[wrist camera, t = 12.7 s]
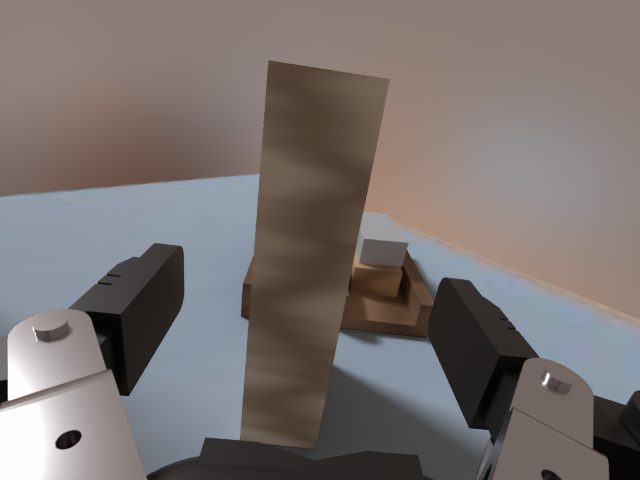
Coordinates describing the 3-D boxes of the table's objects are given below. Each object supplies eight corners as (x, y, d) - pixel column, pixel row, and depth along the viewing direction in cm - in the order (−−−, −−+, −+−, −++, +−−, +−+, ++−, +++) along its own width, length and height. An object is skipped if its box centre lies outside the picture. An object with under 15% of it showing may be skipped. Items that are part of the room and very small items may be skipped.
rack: (240, 316, 28) (243, 283, 27) (267, 236, 43) (269, 212, 42) (426, 337, 29) (436, 306, 28) (390, 251, 44) (396, 229, 43)
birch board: (239, 440, 19) (268, 60, 12) (261, 349, 25) (288, 68, 18) (315, 449, 19) (389, 79, 12) (318, 356, 25) (367, 80, 18)
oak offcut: (350, 291, 32) (355, 266, 31) (344, 252, 39) (348, 231, 38) (396, 297, 32) (402, 272, 31) (381, 257, 40) (386, 236, 39)
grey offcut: (358, 263, 32) (364, 238, 31) (346, 231, 38) (350, 210, 37) (402, 266, 32) (408, 242, 31) (382, 234, 39) (387, 214, 38)
